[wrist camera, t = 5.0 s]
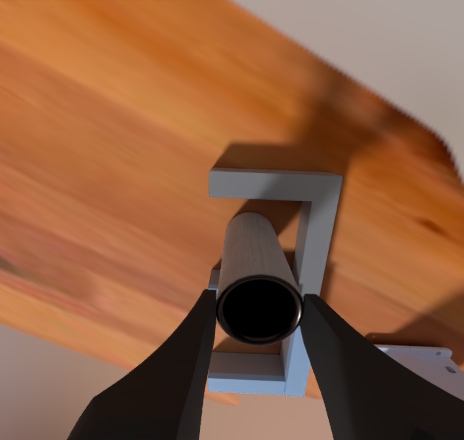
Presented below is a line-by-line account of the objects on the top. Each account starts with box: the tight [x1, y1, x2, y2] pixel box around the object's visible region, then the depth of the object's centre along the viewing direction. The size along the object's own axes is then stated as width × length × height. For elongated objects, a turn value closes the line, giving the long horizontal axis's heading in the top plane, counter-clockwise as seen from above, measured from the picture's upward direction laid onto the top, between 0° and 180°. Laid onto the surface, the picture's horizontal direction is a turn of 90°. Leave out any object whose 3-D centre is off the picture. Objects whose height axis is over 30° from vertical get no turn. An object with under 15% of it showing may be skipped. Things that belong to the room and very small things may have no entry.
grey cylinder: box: [216, 212, 304, 346], centre depth 16 cm, size 4×4×10 cm
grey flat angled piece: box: [209, 167, 343, 376], centre depth 22 cm, size 10×23×2 cm, turn 178°
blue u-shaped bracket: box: [208, 284, 311, 397], centre depth 22 cm, size 10×13×1 cm
